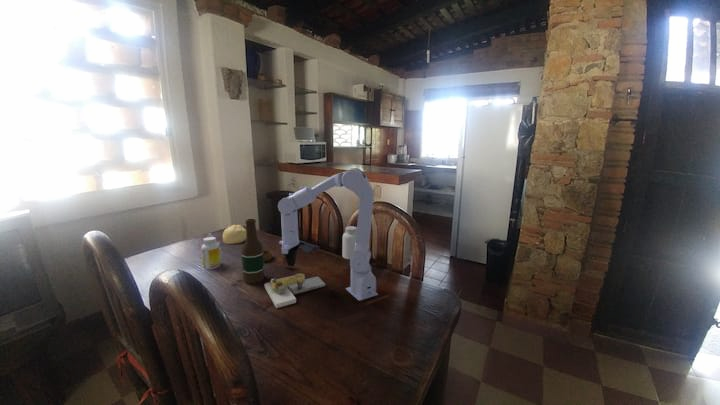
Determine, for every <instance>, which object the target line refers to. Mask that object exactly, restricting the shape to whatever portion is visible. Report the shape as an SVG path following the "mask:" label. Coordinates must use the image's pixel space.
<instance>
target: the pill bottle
mask: <svg viewBox="0 0 720 405" xmlns="http://www.w3.org/2000/svg"><path fill="white" fill-rule="evenodd" d="M356 233H357V226H353V225H352V226H346V227H345V231H344V233H343V234H342V251H341V252H342V253H341V254H342V257H343V258H344V259H346V260H351V258H352V256H353V254H354V248H355V243H356Z"/></svg>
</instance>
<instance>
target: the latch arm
mask: <svg viewBox="0 0 720 405" xmlns="http://www.w3.org/2000/svg"><path fill="white" fill-rule="evenodd" d="M305 279H306V276H305V274H304V273H301V272H299V273H296V274H294V275H290V276H289V275H288V276H285V277H281V278H275V277H274V278H271V280H269V282H270V287H271V289H272V290H273V289H277V288H278V286H281V285H284V287H286V286H287V287H288V286H290V285H294V284H302V283H304V282H305Z"/></svg>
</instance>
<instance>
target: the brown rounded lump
mask: <svg viewBox="0 0 720 405" xmlns="http://www.w3.org/2000/svg"><path fill="white" fill-rule="evenodd" d="M263 257H264V266H265V265H266V263H265V262H268V263H267V265H269V264H270V262H269V261H271V259H272V250H267V249H265V250H264V249H263ZM281 261H282V265H284V269H287V268H288V264H287V260H286V257H285V256H283V257H282V258H281Z"/></svg>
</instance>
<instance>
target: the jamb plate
mask: <svg viewBox="0 0 720 405" xmlns="http://www.w3.org/2000/svg"><path fill="white" fill-rule="evenodd" d="M287 287H288V288H289V290H290V291H291V292H292V294H293V295H297V294H301V293H305V292H308V291H312V290H316V289H319V288H323V287H326V283H325V282H324V281H323V280H322V279H321V278H320V277H319V276H318V275H317V276H313V277H310V278H309V277H308V278H305V282H304V283H302V284H294V285H290V286H287Z"/></svg>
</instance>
